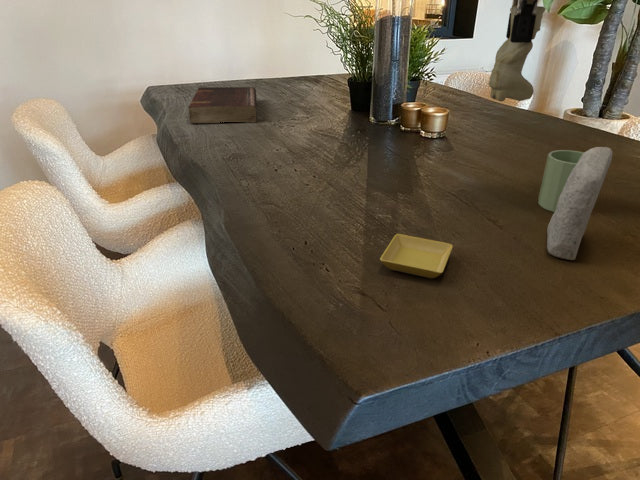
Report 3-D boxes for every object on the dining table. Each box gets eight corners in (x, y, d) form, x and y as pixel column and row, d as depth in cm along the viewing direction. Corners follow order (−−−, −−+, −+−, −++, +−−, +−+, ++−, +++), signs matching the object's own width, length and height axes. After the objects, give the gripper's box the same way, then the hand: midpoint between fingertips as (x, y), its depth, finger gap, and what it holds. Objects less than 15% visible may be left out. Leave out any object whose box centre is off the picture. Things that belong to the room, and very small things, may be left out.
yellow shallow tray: (452, 256, 72) (454, 243, 71) (440, 286, 64) (442, 272, 64) (395, 245, 75) (396, 232, 74) (378, 272, 68) (378, 259, 67)
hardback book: (257, 122, 141) (256, 104, 138) (190, 124, 139) (188, 106, 137) (256, 101, 166) (255, 85, 164) (200, 102, 164) (198, 87, 162)
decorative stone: (583, 266, 69) (612, 164, 62) (537, 255, 71) (561, 157, 64) (589, 235, 77) (615, 143, 70) (548, 227, 80) (570, 137, 73)
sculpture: (536, 102, 83) (554, 5, 76) (496, 105, 82) (510, 6, 75) (520, 95, 88) (535, 3, 81) (482, 97, 88) (494, 5, 80)
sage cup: (578, 198, 90) (591, 151, 86) (590, 215, 84) (604, 165, 79) (534, 195, 92) (544, 148, 88) (542, 212, 85) (553, 162, 81)
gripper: (581, -101, 64) (552, 46, 73) (555, -86, 79) (533, 35, 88) (521, -99, 66) (499, 46, 74) (506, -84, 81) (490, 35, 89)
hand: (518, 39), depth 81 cm, fingers closed on sculpture, 5 cm apart
